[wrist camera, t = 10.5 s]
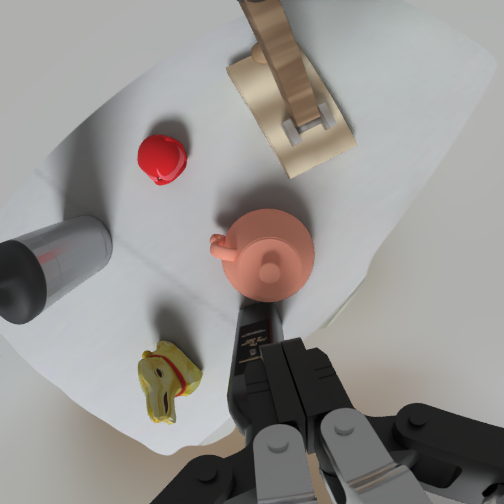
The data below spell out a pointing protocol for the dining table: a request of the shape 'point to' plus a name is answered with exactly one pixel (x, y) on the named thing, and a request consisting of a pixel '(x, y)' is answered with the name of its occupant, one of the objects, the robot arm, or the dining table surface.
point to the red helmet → (162, 158)
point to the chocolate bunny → (166, 380)
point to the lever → (282, 57)
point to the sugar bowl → (265, 254)
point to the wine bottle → (250, 357)
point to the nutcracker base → (279, 122)
